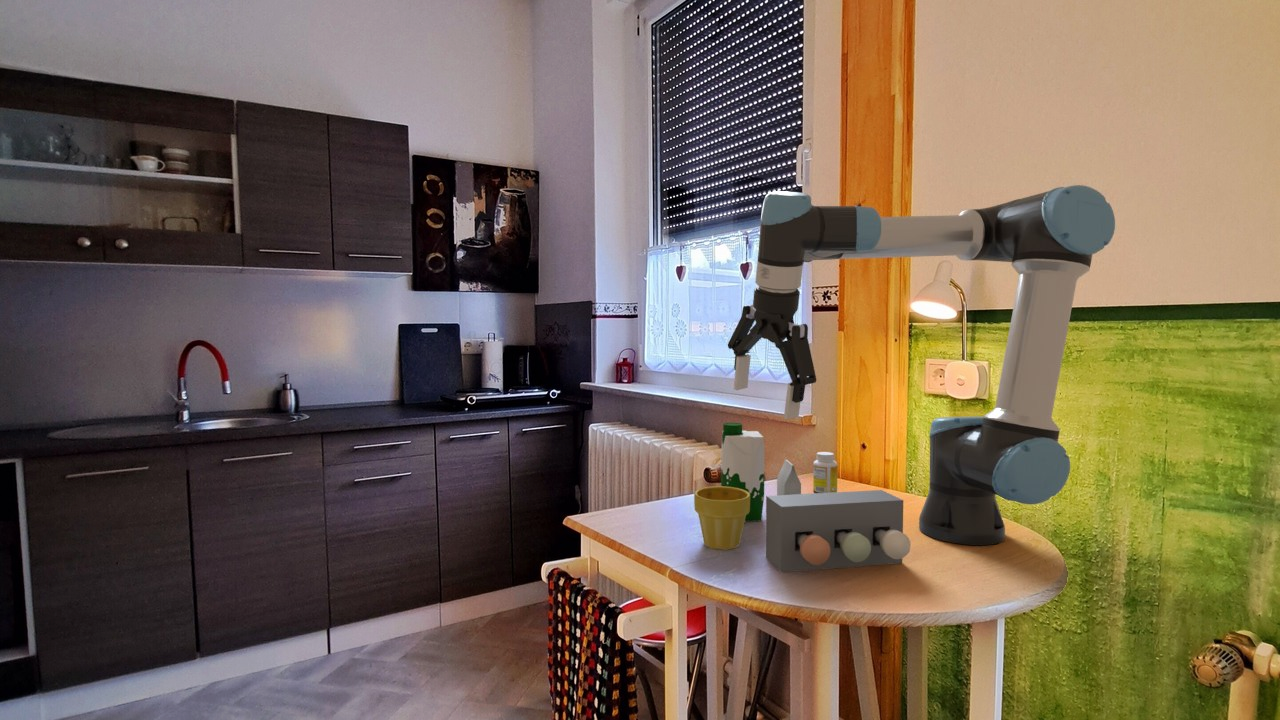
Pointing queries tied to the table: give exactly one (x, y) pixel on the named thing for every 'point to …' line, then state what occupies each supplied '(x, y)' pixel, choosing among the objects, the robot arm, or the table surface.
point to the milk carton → (744, 465)
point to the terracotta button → (813, 548)
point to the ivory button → (892, 542)
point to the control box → (829, 525)
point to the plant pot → (722, 515)
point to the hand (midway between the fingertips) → (764, 402)
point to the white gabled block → (788, 480)
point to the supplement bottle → (824, 473)
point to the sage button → (853, 545)
